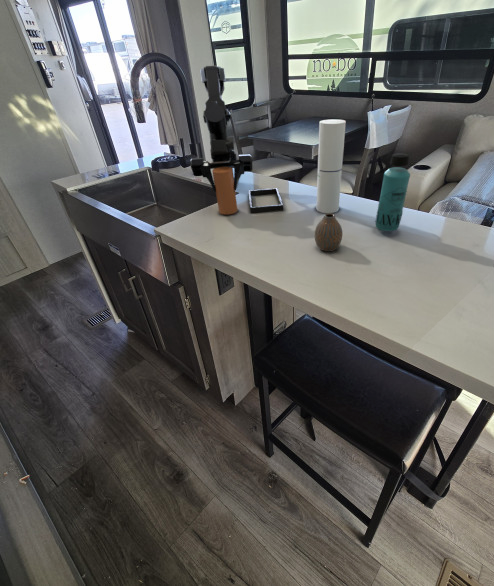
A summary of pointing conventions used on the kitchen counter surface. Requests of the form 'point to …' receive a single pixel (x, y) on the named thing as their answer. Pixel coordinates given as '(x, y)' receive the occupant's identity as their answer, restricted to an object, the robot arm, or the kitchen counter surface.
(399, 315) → the kitchen counter surface
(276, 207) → the black rectangular frame
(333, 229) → the vase
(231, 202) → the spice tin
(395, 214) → the beverage bottle
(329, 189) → the cylindrical container
